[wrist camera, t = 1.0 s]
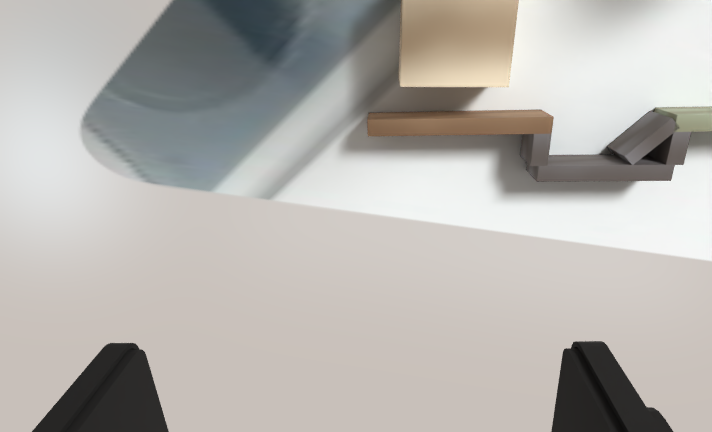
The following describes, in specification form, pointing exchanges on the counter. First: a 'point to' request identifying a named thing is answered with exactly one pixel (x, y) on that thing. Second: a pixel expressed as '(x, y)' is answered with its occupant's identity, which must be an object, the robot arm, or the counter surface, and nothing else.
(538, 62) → the counter surface
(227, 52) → the counter surface
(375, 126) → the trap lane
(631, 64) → the counter surface
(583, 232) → the counter surface
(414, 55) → the block
